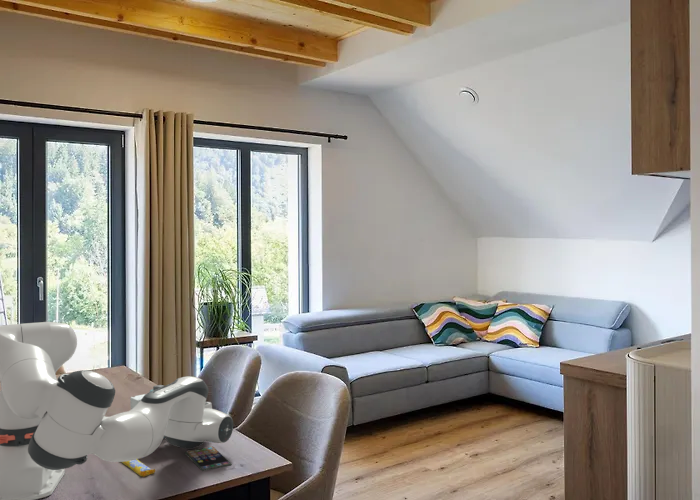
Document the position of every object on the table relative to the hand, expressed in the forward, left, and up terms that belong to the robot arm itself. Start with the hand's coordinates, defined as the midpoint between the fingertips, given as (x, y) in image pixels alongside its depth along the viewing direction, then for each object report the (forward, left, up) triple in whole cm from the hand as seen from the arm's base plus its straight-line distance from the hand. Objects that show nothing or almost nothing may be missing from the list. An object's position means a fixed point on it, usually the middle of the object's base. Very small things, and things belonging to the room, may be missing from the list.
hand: (158, 411), depth 193 cm
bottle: (0, 0, -7) cm, 8 cm away
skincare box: (+21, +3, -8) cm, 22 cm away
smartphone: (-25, -10, -8) cm, 28 cm away
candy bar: (-23, +8, -8) cm, 26 cm away
